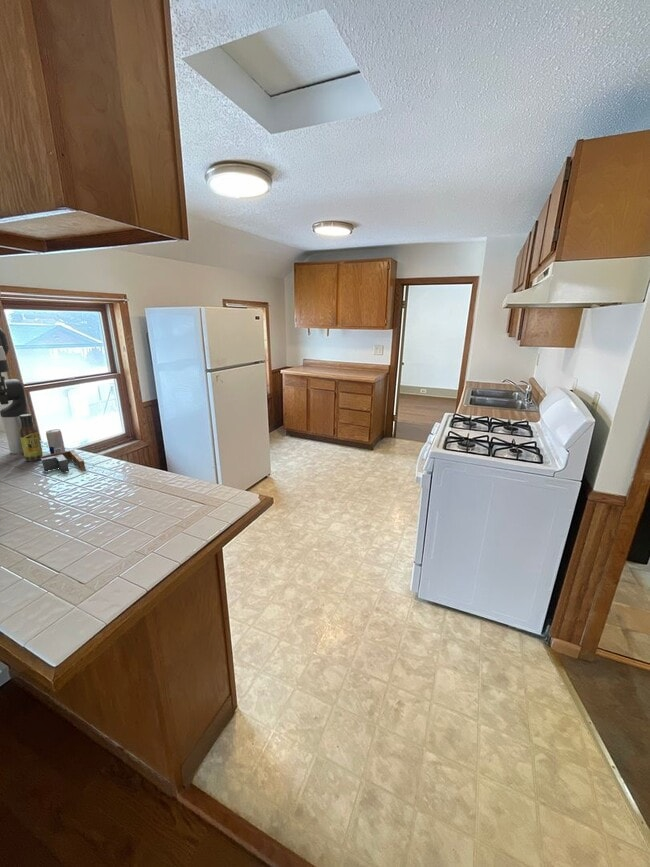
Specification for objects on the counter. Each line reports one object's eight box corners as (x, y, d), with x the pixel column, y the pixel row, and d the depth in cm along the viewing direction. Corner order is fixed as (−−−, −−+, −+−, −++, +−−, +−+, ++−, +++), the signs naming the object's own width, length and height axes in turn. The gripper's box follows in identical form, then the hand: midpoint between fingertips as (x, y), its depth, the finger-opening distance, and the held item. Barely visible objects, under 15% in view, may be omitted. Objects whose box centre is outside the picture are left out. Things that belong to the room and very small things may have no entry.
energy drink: (54, 455, 156) (48, 429, 152) (68, 454, 157) (62, 428, 154) (49, 459, 151) (43, 433, 148) (63, 458, 153) (57, 432, 149)
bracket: (64, 465, 144) (62, 454, 143) (69, 471, 139) (66, 459, 137) (43, 470, 139) (41, 458, 138) (47, 476, 134) (44, 464, 132)
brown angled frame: (43, 464, 145) (41, 455, 144) (74, 458, 152) (73, 449, 151) (52, 477, 132) (49, 467, 131) (85, 469, 140) (83, 460, 139)
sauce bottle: (32, 462, 147) (21, 417, 141) (21, 460, 148) (10, 416, 143) (47, 457, 153) (37, 414, 147) (37, 456, 154) (27, 412, 149)
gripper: (8, 359, 123) (19, 404, 128) (4, 357, 133) (14, 398, 137) (-21, 360, 118) (-9, 407, 123) (-23, 358, 127) (-12, 401, 132)
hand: (3, 402), depth 130 cm, fingers open, 8 cm apart
